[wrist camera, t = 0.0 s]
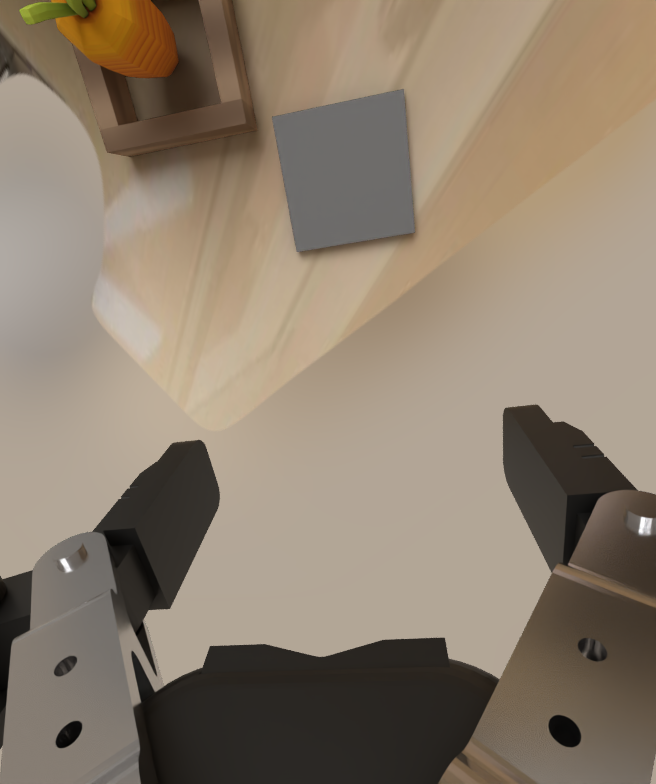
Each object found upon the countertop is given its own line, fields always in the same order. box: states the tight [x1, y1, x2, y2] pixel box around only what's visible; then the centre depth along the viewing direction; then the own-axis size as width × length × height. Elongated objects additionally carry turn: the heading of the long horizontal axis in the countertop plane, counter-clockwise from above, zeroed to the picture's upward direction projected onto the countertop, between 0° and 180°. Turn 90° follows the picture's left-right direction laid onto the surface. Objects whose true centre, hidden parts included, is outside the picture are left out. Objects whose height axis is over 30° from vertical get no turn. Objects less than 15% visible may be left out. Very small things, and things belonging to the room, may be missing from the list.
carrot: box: [19, 0, 179, 78], centre depth 26 cm, size 5×5×15 cm
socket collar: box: [72, 0, 257, 157], centre depth 31 cm, size 11×11×4 cm
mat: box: [272, 89, 415, 252], centre depth 35 cm, size 10×10×1 cm
